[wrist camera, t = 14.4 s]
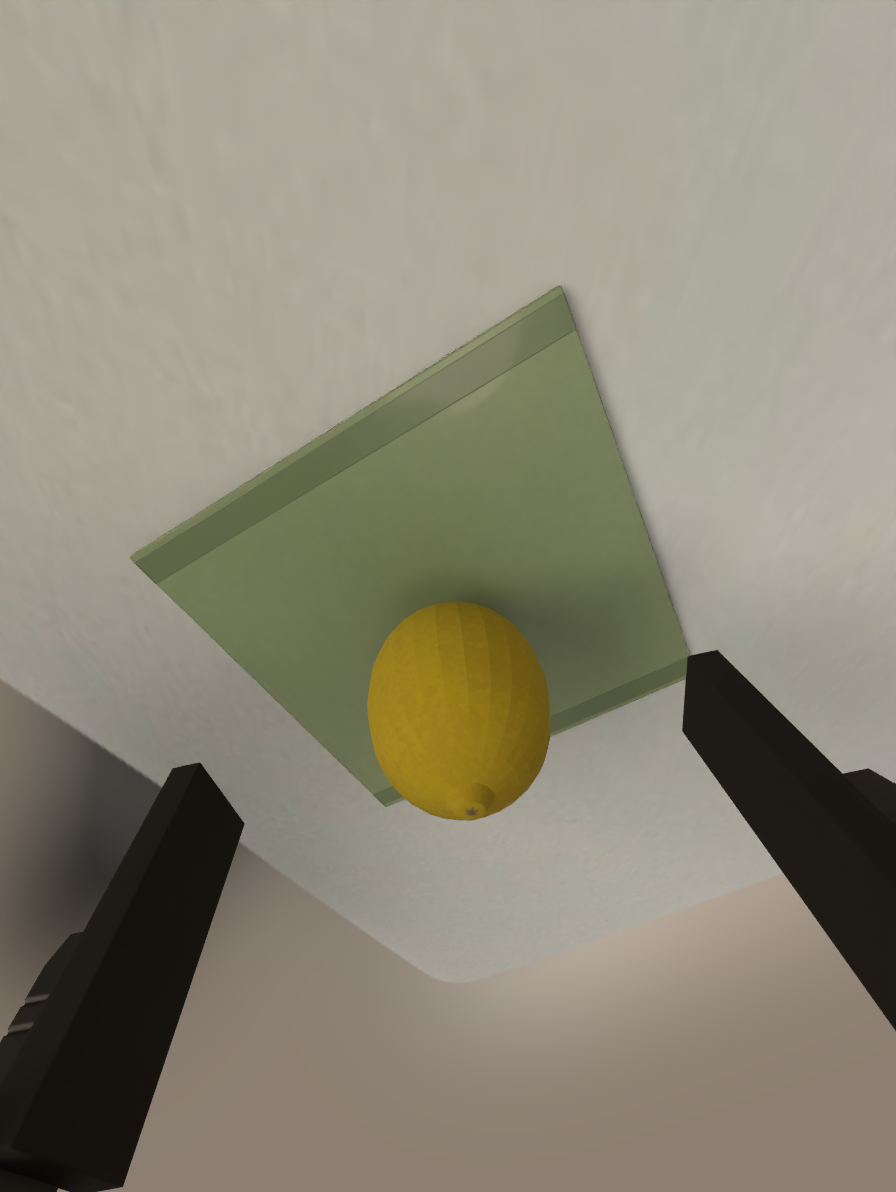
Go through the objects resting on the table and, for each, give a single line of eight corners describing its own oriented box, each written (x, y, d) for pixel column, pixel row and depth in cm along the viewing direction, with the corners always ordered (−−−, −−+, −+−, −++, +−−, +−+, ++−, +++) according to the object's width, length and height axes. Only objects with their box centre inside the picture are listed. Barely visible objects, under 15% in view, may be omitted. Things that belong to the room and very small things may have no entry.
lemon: (547, 606, 17) (636, 783, 10) (466, 700, 20) (495, 899, 13) (426, 535, 16) (437, 690, 9) (351, 647, 18) (311, 843, 11)
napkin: (386, 801, 23) (385, 807, 23) (133, 554, 16) (128, 557, 15) (692, 670, 20) (696, 674, 20) (558, 285, 13) (561, 284, 12)
